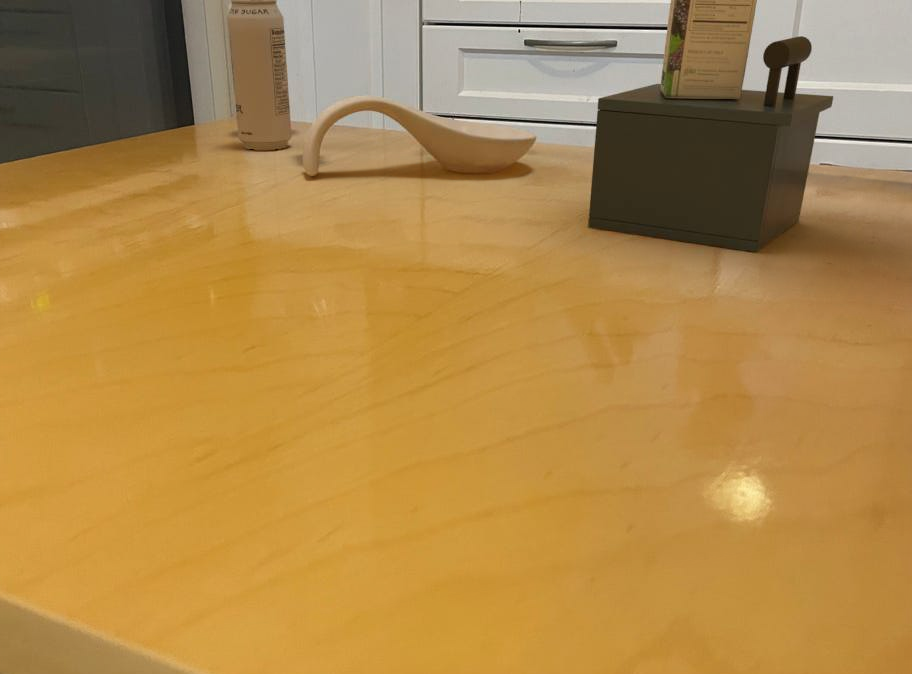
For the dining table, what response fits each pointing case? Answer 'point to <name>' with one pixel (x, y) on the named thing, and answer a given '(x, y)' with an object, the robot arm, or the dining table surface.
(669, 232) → the chest
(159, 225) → the dining table surface
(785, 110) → the lid
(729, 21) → the syrup box
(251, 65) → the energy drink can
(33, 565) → the dining table surface
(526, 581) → the dining table surface
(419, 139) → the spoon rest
